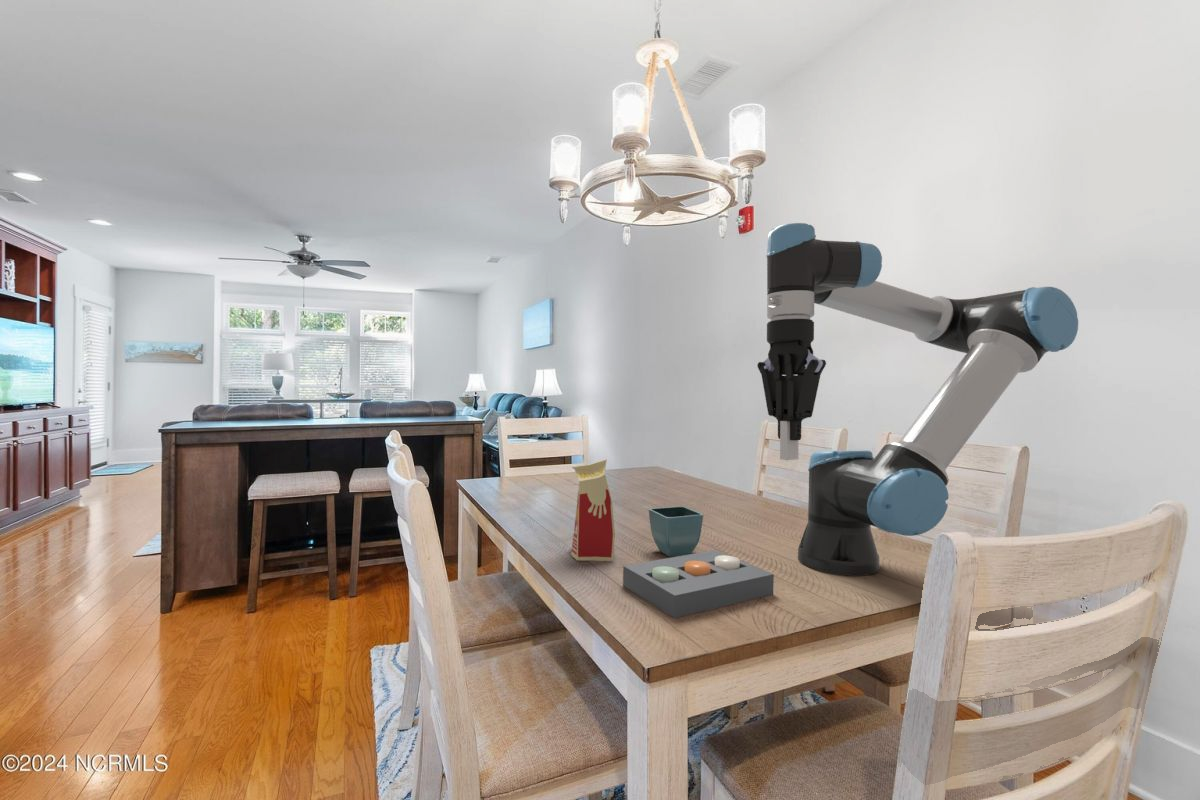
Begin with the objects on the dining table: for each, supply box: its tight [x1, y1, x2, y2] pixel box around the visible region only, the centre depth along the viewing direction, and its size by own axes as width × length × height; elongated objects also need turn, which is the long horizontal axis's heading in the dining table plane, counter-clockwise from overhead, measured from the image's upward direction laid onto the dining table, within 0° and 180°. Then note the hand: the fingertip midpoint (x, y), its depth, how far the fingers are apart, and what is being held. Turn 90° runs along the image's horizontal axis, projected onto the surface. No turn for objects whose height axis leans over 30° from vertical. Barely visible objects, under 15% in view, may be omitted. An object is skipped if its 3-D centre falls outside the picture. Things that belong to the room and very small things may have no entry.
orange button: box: [685, 561, 710, 577], centre depth 94 cm, size 4×4×3 cm
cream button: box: [715, 554, 741, 571], centre depth 97 cm, size 4×4×3 cm
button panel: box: [622, 549, 775, 619], centre depth 94 cm, size 21×15×4 cm
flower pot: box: [648, 505, 704, 558], centre depth 114 cm, size 9×9×9 cm
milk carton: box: [570, 458, 616, 562], centre depth 113 cm, size 9×9×20 cm
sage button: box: [652, 566, 679, 583], centre depth 91 cm, size 4×4×3 cm
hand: (789, 459), depth 92 cm, fingers closed
